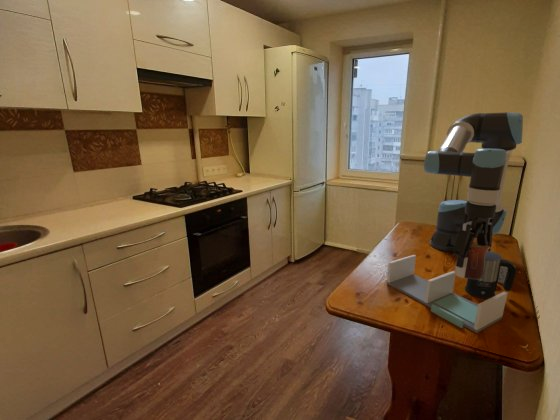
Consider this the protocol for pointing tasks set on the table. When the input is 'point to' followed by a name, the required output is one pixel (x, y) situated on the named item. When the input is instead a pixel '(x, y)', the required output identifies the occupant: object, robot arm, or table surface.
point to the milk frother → (491, 277)
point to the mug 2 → (502, 274)
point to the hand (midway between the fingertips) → (468, 272)
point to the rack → (444, 296)
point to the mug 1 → (476, 261)
